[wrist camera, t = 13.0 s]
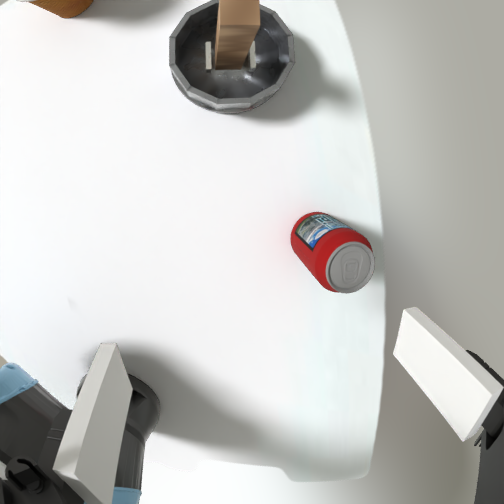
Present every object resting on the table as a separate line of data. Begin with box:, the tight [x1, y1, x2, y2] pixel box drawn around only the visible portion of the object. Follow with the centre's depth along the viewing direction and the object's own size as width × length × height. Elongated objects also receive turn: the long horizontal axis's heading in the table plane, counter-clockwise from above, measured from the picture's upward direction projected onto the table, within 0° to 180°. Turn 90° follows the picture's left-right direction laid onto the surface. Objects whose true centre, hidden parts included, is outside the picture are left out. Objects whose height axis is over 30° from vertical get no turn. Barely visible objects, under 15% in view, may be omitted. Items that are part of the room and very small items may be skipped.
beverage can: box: [291, 212, 375, 293], centre depth 34 cm, size 7×7×12 cm
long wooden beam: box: [215, 0, 260, 70], centre depth 24 cm, size 3×3×14 cm
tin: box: [169, 0, 295, 113], centre depth 29 cm, size 14×14×5 cm
